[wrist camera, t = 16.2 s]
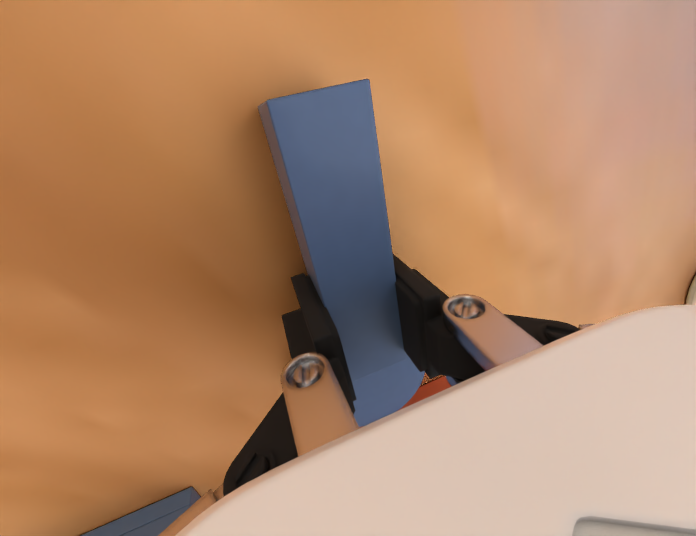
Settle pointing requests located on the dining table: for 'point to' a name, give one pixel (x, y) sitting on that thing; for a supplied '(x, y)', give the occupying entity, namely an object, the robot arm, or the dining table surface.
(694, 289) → the coffee can
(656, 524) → the robot arm
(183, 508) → the blue tray
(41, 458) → the dining table surface
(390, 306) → the blue spoon
